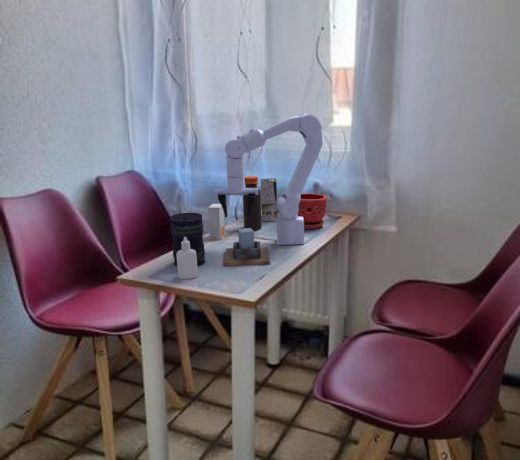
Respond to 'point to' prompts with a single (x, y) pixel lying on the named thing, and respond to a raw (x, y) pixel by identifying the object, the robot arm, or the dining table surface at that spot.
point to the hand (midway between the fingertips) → (237, 215)
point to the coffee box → (269, 199)
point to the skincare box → (216, 221)
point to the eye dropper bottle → (186, 261)
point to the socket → (247, 255)
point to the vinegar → (255, 212)
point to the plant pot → (312, 209)
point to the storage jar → (188, 234)
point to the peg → (246, 238)
